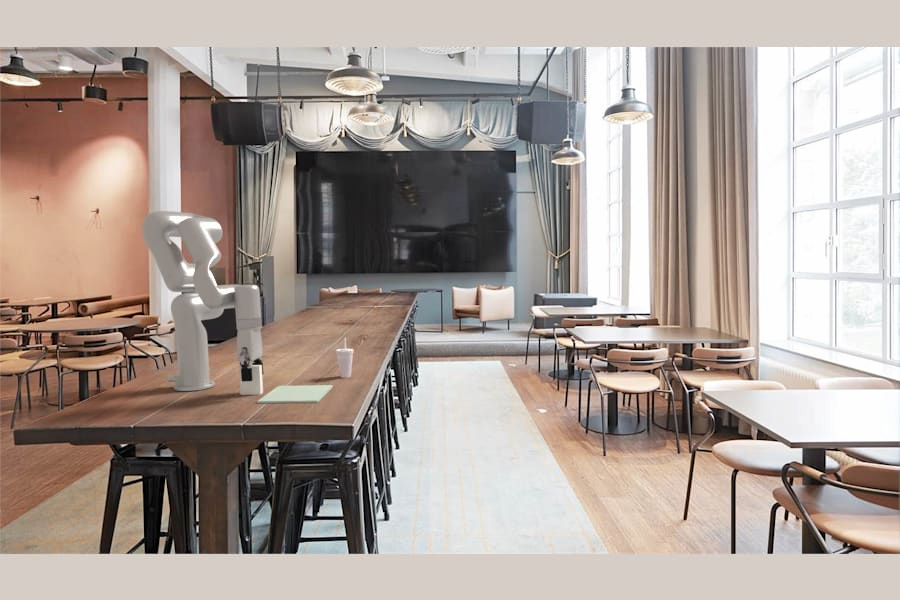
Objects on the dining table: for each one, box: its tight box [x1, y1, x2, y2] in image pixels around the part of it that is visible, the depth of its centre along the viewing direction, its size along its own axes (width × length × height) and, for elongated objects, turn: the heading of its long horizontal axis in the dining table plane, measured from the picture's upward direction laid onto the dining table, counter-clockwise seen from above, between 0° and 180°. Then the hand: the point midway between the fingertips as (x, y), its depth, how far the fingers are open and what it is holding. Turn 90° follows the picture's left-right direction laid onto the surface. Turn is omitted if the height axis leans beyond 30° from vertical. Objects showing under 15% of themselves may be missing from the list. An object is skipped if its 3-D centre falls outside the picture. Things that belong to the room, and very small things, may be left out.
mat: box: [256, 384, 333, 404], centre depth 182 cm, size 18×20×1 cm
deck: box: [238, 364, 264, 396], centre depth 184 cm, size 6×2×9 cm, turn 89°
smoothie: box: [335, 337, 355, 379], centre depth 207 cm, size 6×6×14 cm
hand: (252, 377), depth 184 cm, fingers open, 9 cm apart
